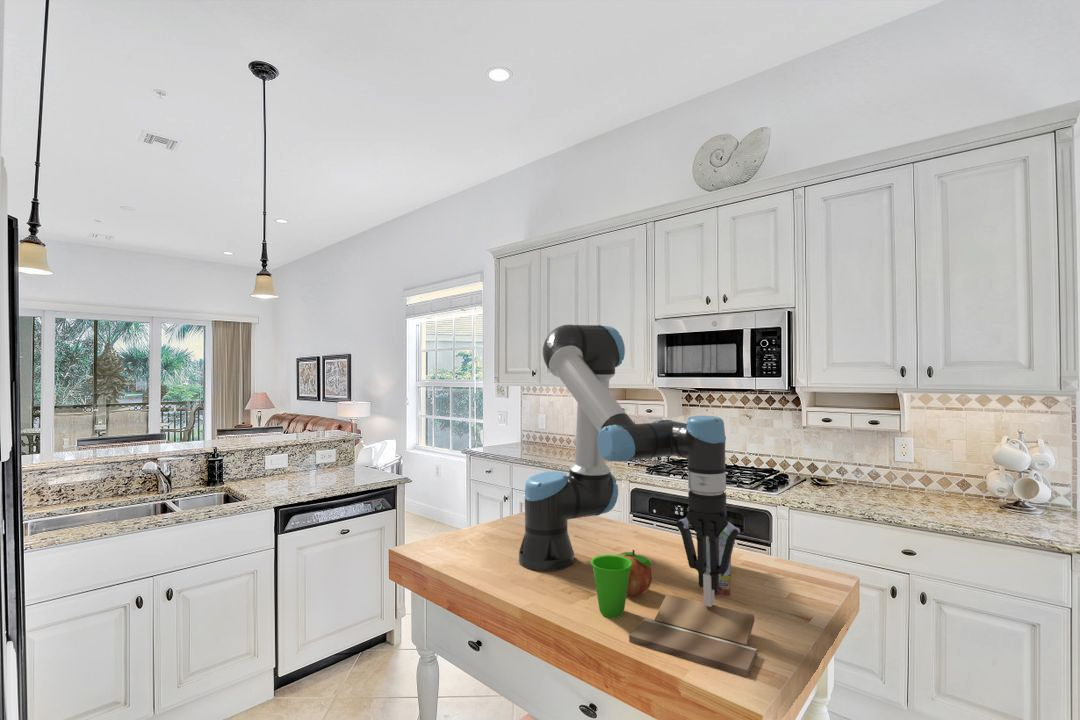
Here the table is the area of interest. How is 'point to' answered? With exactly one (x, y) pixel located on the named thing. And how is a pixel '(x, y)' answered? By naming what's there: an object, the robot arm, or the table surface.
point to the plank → (706, 619)
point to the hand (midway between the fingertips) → (709, 603)
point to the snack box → (723, 578)
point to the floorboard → (695, 646)
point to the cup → (611, 583)
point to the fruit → (638, 574)
